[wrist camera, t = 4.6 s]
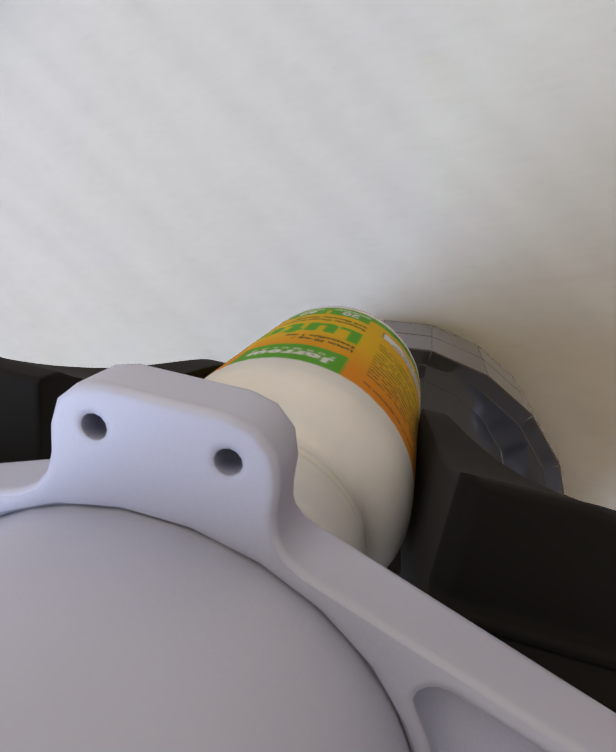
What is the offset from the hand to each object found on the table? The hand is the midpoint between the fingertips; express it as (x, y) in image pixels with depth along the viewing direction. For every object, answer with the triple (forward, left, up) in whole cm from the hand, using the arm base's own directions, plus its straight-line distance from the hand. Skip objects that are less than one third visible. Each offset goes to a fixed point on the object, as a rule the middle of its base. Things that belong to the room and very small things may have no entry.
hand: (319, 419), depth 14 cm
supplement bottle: (0, 0, -3) cm, 3 cm away
